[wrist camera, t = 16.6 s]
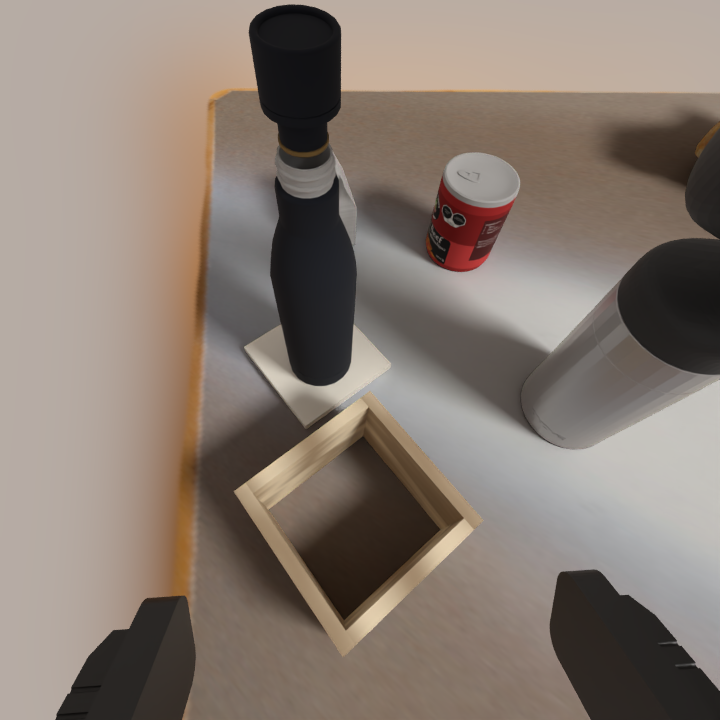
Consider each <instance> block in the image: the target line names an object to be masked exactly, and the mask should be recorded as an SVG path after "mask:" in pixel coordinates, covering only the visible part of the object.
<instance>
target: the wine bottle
mask: <svg viewBox="0 0 720 720" xmlns="http://www.w3.org/2000/svg"><path fill="white" fill-rule="evenodd" d="M249 37H250V43H251V49H252V55H253V62H254V68H255V74H256V80H257V86H258V93H259V99H260V105H261V108H262V110H263V112H264V114H265V115H266V116H267V117H268V118H269V119H270V120H272V121H274V122H276V123H277V124H278V131H279V133H278V142H279V146H278V148H277V154H276V156H275V165H276V168H277V176H276V178H275V192H276V198H277V204H278V210H279V220H278V223H277V226H276V230H275V234H274V237H273V242H272V252H271V269H270V276H271V280H272V285H273V289H274V294H275V298H276V303H277V308H278V312H279V317H280V321H281V326H282V330H283V335H284V339H285V344H286V348H287V353H288V357H289V362H290V365H291V368H292V371H293V372H294V374H295V375H296V376H297V378H298V379H300V380H301V381H303V382H304V383H306V384H309V385H313V386H327V385H330V384H333V383H336V382H337V381H339V380H340V379H342V378H343V377H344V375H345V374H346V373H347V372H348V370H349V367H350V364H351V357H352V341H353V325H354V309H355V293H356V277H357V272H356V261H355V255H354V251H353V247H352V243H351V240H350V237H349V235H348V233H347V230H346V228H345V226H344V224H343V221H342V219H341V217H340V215H339V179H338V177H337V175H336V171H335V165H336V162H335V156H334V154H333V152H332V148H331V146H330V144H329V134H328V132H327V122H329V121H330V120H331V119H333V118H334V117H335V116H336V115H337V114H338V112H339V110H340V108H341V28H340V25H339V24H338V22H337V21H336V19H335V18H334V17H333V16H331V15H330V14H329V13H327V12H325V11H322V10H320V9H318V8H315V7H310V6H305V5H282V6H276V7H273V8H270V9H267V10H265V11H263V12H261V13H260V14H258V15H256V16H255V18H254V19H253V20H252V22H251V23H250V27H249Z"/></svg>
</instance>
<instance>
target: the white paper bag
mask: <svg viewBox="0 0 720 720" xmlns="http://www.w3.org/2000/svg"><path fill="white" fill-rule="evenodd" d="M332 152H333V151H332ZM333 154H334V153H333ZM334 156H335V155H334ZM335 162H336V165H335V171H336V175H337V177H338V179H339V215H340V217H341V219H342V221H343V224H344V226H345V228H346V230H347V233H348V235H349V237H350V240H351V243H352V245H355V238H356V219H357V207H356V204H355V201H354V198H353V196H352V193H351V190H350V187H349V185H348V182H347V179H346V176H345V174H344V171H343V168H342V166H341V165H340V163H339V161H338V160H337V158H336V156H335Z"/></svg>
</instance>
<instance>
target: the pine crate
mask: <svg viewBox="0 0 720 720" xmlns="http://www.w3.org/2000/svg"><path fill="white" fill-rule="evenodd" d="M361 437H364V438H365V439H366V440H367V441H368V443H369V444H370V445H371V446H372V448H373V449H374V450H375V451H376V452H377V454H378V455H379V456H380V457H381V458H382V460H383V461H384V462H385V463H386V464H387V466H388V467H389V468H390V469H391V470H392V472H393V473H394V474H395V475H396V476H397V478H398V479H399V480H400V481H401V483H402V484H403V485H404V486H405V487H406V489H407V490H408V491H409V492H410V493H411V495H412V496H413V497H414V498H415V499H416V501H417V502H418V503H419V504H420V505H421V507H422V508H423V509H424V510H425V512H426V513H427V514H428V515H429V516H430V518H431V519H432V520H433V521H434V522H435V524H436V525H437V526H438V527H439V528H440V531H439V532H437V533H436V534H435V535H434V536H433V537H432V538H431V539H430V540H429V541H428V542H427V543H426V544H425V545H424V546H423V547H421V548H420V549H419V550H418V551H417V552H416V553H415V554H414V555H413V556H412V557H411V558H410V559H409V560H408V561H407V562H406V563H404V564H403V565H402V566H401V567H400V568H399V569H398V570H397V571H396V572H395V573H394V574H393V575H392V576H391V577H390V578H388V579H387V580H386V581H385V582H384V583H383V584H382V585H381V586H380V587H379V588H378V589H377V590H376V591H375V592H374V593H373V594H371V595H370V596H369V597H368V598H367V599H366V600H365V601H364V602H363V603H362V604H361V605H360V606H359V607H358V608H357V609H355V610H354V611H353V612H352V613H351V614H350V615H349V616H348V617H347V618H346V619H345V620H343V618H342V617H341V615H340V614H339V612H338V611H337V609H336V608H335V606H334V605H333V604H332V602H331V601H330V599H329V598H328V596H327V595H326V593H325V592H324V590H323V589H322V587H321V586H320V584H319V583H318V582H317V580H316V579H315V577H314V576H313V574H312V573H311V571H310V570H309V568H308V567H307V565H306V564H305V562H304V561H303V559H302V558H301V557H300V555H299V554H298V552H297V551H296V549H295V548H294V546H293V545H292V543H291V542H290V540H289V539H288V537H287V536H286V535H285V533H284V532H283V530H282V529H281V527H280V526H279V524H278V523H277V521H276V520H275V518H274V517H273V515H272V514H271V512H270V511H269V509H270V508H271V507H272V506H274V505H275V504H276V503H278V502H279V501H280V500H281V499H283V498H284V497H285V496H287V495H288V494H289V493H290V492H292V491H293V490H294V489H296V488H297V487H298V486H299V485H301V484H302V483H303V482H305V481H306V480H307V479H309V478H310V477H311V476H312V475H314V474H315V473H316V472H318V471H319V470H320V469H321V468H323V467H324V466H325V465H327V464H328V463H329V462H330V461H332V460H333V459H334V458H336V457H337V456H338V455H339V454H341V453H342V452H343V451H345V450H346V449H347V448H348V447H350V446H351V445H352V444H354V443H355V442H356V441H357V440H359V439H360V438H361ZM234 493H235V494H236V496H237V497H238V499H239V500H240V502H241V503H242V505H243V506H244V508H245V509H246V511H247V512H248V514H249V515H250V517H251V518H252V520H253V521H254V523H255V524H256V526H257V527H258V529H259V530H260V532H261V533H262V535H263V536H264V538H265V540H266V541H267V543H268V544H269V546H270V547H271V549H272V550H273V552H274V553H275V555H276V556H277V558H278V559H279V561H280V562H281V564H282V565H283V567H284V568H285V570H286V571H287V573H288V574H289V576H290V577H291V579H292V580H293V582H294V584H295V585H296V587H297V588H298V590H299V591H300V593H301V594H302V596H303V597H304V599H305V600H306V602H307V603H308V605H309V606H310V608H311V609H312V611H313V612H314V614H315V615H316V617H317V618H318V620H319V621H320V623H321V624H322V626H323V627H324V629H325V631H326V632H327V634H328V635H329V637H330V638H331V640H332V641H333V643H334V644H335V646H336V647H337V649H338V650H339V652H340V653H341V655H342V656H343V657H344V656H345V655H346V654H347V653H348V652H349V651H350V650H351V649H352V648H353V647H354V646H355V645H356V644H357V643H358V642H359V641H360V640H361V639H362V638H363V637H364V636H365V635H366V634H367V633H368V632H370V631H371V630H372V629H373V628H374V627H375V626H376V625H377V624H378V623H379V622H380V621H381V620H382V619H383V618H384V617H385V616H386V615H387V614H388V613H389V612H390V611H391V610H392V609H393V608H394V607H395V606H396V605H397V604H398V603H399V602H400V601H401V600H402V599H403V598H404V597H405V596H406V595H408V594H409V593H410V592H411V591H412V590H413V589H414V588H415V587H416V586H417V585H418V584H419V583H420V582H421V581H422V580H423V579H424V578H425V577H426V576H427V575H428V574H429V573H430V572H431V571H432V570H433V569H434V568H435V567H436V566H437V565H438V564H439V563H440V562H441V561H442V560H443V559H444V558H445V557H447V556H448V555H449V554H450V553H451V552H452V551H453V550H454V549H455V548H456V547H457V546H458V545H459V544H460V543H461V542H462V541H463V540H464V539H465V538H466V537H467V536H468V535H469V534H470V533H471V532H472V531H473V530H474V529H475V528H476V527H477V526H478V525H479V524H480V523H481V522H482V521H483V519H482V518H481V517H480V516H479V515H478V514H477V513H476V511H475V510H474V509H473V508H472V507H471V506H470V505H469V503H468V502H467V501H466V500H465V499H464V498H463V497H462V495H461V494H460V493H459V492H458V491H457V490H456V489H455V487H454V486H453V485H452V484H451V483H450V482H449V481H448V479H447V478H446V477H445V476H444V475H443V474H442V473H441V471H440V470H439V469H438V468H437V467H436V466H435V465H434V463H433V462H432V461H431V460H430V459H429V458H428V457H427V455H426V454H425V453H424V452H423V451H422V450H421V449H420V447H419V446H418V445H417V444H416V443H415V442H414V441H413V439H412V438H411V437H410V436H409V435H408V434H407V433H406V431H405V430H404V429H403V428H402V427H401V426H400V425H399V423H398V422H397V421H396V420H395V419H394V418H393V417H392V415H391V414H390V413H389V412H388V411H387V410H386V409H385V407H384V406H383V405H382V404H381V403H380V402H379V401H378V399H377V398H376V397H375V396H374V395H373V394H372V393H371V391H369V392H368V393H367V394H365V395H364V396H363V397H361V398H360V399H358V400H357V401H356V402H354V403H353V404H352V405H350V406H349V407H348V408H346V409H345V410H344V411H342V412H341V413H339V414H338V415H337V416H335V417H334V418H333V419H331V420H330V421H329V422H327V423H326V424H325V425H323V426H322V427H320V428H319V429H318V430H316V431H315V432H314V433H312V434H311V435H310V436H308V437H307V438H306V439H304V440H303V441H301V442H300V443H299V444H297V445H296V446H295V447H293V448H292V449H291V450H289V451H288V452H287V453H285V454H284V455H282V456H281V457H280V458H278V459H277V460H276V461H274V462H273V463H272V464H270V465H269V466H268V467H266V468H265V469H263V470H262V471H261V472H259V473H258V474H257V475H255V476H254V477H253V478H251V479H250V480H249V481H247V482H246V483H244V484H243V485H242V486H240V487H239V488H238V489H236V490H235V491H234Z"/></svg>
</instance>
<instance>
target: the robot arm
mask: <svg viewBox="0 0 720 720" xmlns="http://www.w3.org/2000/svg"><path fill="white" fill-rule="evenodd" d="M685 201H686V208H687V211H688V212H689V214H690V216H691V218H692V219H693V220H694V222H696V223H697V224H698V225H699V226H700V227H702V228H703V229H704V230H706V231H708V232H709V233H711V234H712V235H714V236H715V237H717V238H719V239H720V128H719V129H718V130H717V132H716V133H715V134H714V135H713V137H712V138H711V139H710V141H709V142H708V144H707V145H706V146H705V148H704V149H703V151H702V153H701V154H700V156H699V158H698V159H697V161H696V163H695V165H694V167H693V169H692V171H691V174H690V176H689V179H688V183H687V187H686V192H685ZM718 380H720V240H717V239H703V238H690V239H679V240H674V241H670V242H667V243H664V244H661V245H659V246H657V247H655V248H653V249H652V250H650V251H649V252H647V253H646V254H645V255H644V256H643V257H642V258H640V259H639V260H638V261H637V262H636V264H635V265H634V266H633V267H632V268H631V269H630V270H629V271H628V272H627V273H626V274H625V275H624V277H623V278H622V279H621V280H620V281H619V282H618V283H617V284H616V285H615V286H614V287H613V288H612V289H611V290H610V291H609V292H608V293H607V295H606V296H605V297H604V298H603V299H602V300H601V301H600V302H599V303H598V304H597V305H596V306H595V307H594V309H593V310H592V311H591V312H590V313H589V314H588V315H587V316H586V317H585V318H584V319H583V320H582V321H581V322H580V323H579V324H578V325H577V326H576V327H575V328H574V330H573V331H572V332H571V333H570V334H569V335H568V336H567V337H566V338H565V339H564V340H563V341H562V342H561V343H560V344H559V345H558V346H557V347H556V348H555V350H554V351H553V352H552V353H551V354H550V355H549V356H548V357H547V358H546V359H545V360H544V361H543V362H542V363H541V364H540V365H539V366H538V367H537V368H536V369H535V370H534V371H533V372H532V374H531V375H530V376H529V377H528V378H527V380H526V381H525V382H524V385H523V388H522V391H521V404H522V409H523V412H524V415H525V417H526V419H527V420H528V422H529V424H530V425H531V426H532V427H533V429H534V430H535V431H536V432H537V433H538V434H539V435H540V436H542V437H543V438H544V439H546V440H547V441H549V442H551V443H552V444H554V445H557V446H560V447H563V448H568V449H584V448H588V447H591V446H593V445H595V444H597V443H599V442H601V441H603V440H605V439H606V438H608V437H610V436H612V435H614V434H617V433H618V432H620V431H622V430H624V429H626V428H628V427H630V426H632V425H634V424H636V423H638V422H640V421H641V420H643V419H645V418H647V417H649V416H651V415H653V414H655V413H657V412H659V411H661V410H663V409H665V408H666V407H668V406H670V405H672V404H674V403H676V402H678V401H680V400H682V399H684V398H686V397H688V396H689V395H691V394H693V393H695V392H697V391H699V390H701V389H703V388H704V387H706V386H708V385H710V384H712V383H714V382H716V381H718ZM550 635H551V640H552V644H553V647H554V650H555V653H556V655H557V657H558V659H559V661H560V663H561V665H562V667H563V669H564V670H565V672H566V674H567V676H568V678H569V680H570V682H571V684H572V685H573V687H574V689H575V691H576V693H577V695H578V697H579V698H580V700H581V702H582V704H583V706H584V708H585V710H586V711H587V713H588V715H589V717H590V719H591V720H720V691H719V690H718V689H717V687H716V686H715V685H714V684H713V683H712V682H711V680H710V679H709V678H708V677H707V676H706V674H705V673H704V672H703V671H702V670H701V669H700V668H697V667H696V665H695V661H694V660H693V659H692V658H691V657H690V656H689V654H688V653H687V652H686V651H685V650H684V648H683V647H682V646H679V645H678V644H677V640H676V639H675V638H674V637H673V635H672V634H671V633H670V632H669V631H668V630H667V628H666V627H665V626H664V625H663V624H662V623H661V621H660V620H659V619H658V618H657V617H656V615H654V614H653V613H652V612H650V611H649V610H648V609H646V608H645V607H644V606H642V605H641V604H640V603H638V602H637V601H636V600H634V599H633V598H632V597H630V596H629V595H619V594H618V592H617V591H616V590H615V589H614V587H613V586H612V585H611V584H610V582H609V581H608V580H607V579H606V577H605V576H604V575H603V574H602V573H601V572H599V571H598V570H581V571H566V572H561V573H560V574H559V575H558V578H557V584H556V590H555V596H554V602H553V607H552V613H551V619H550ZM195 660H196V652H195V644H194V638H193V632H192V626H191V619H190V613H189V607H188V602H187V598H186V597H185V596H172V597H157V598H147V599H145V600H144V601H143V602H142V604H141V606H140V608H139V610H138V612H137V614H136V616H135V618H134V620H133V622H132V624H131V626H130V628H129V629H125V630H113V631H112V632H111V633H110V634H109V635H108V636H107V638H106V639H105V640H104V641H103V642H102V643H101V644H100V645H99V646H98V647H97V648H96V649H95V650H94V652H92V653H91V654H90V655H89V657H88V658H87V660H86V662H85V664H84V665H83V667H82V669H81V671H80V673H79V674H78V676H77V678H76V680H75V682H74V684H73V685H72V687H71V692H70V694H67V696H66V698H65V700H64V702H63V704H62V706H61V707H60V709H59V711H58V713H57V717H56V720H182V717H183V714H184V710H185V707H186V703H187V700H188V697H189V693H190V690H191V686H192V682H193V677H194V671H195Z"/></svg>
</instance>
